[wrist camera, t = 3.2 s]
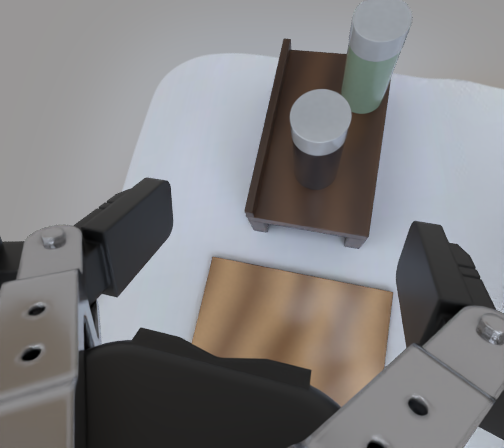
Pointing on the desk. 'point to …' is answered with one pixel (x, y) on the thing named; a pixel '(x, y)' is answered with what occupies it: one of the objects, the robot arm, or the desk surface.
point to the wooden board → (296, 323)
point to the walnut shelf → (281, 157)
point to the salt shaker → (373, 51)
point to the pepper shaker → (318, 136)
